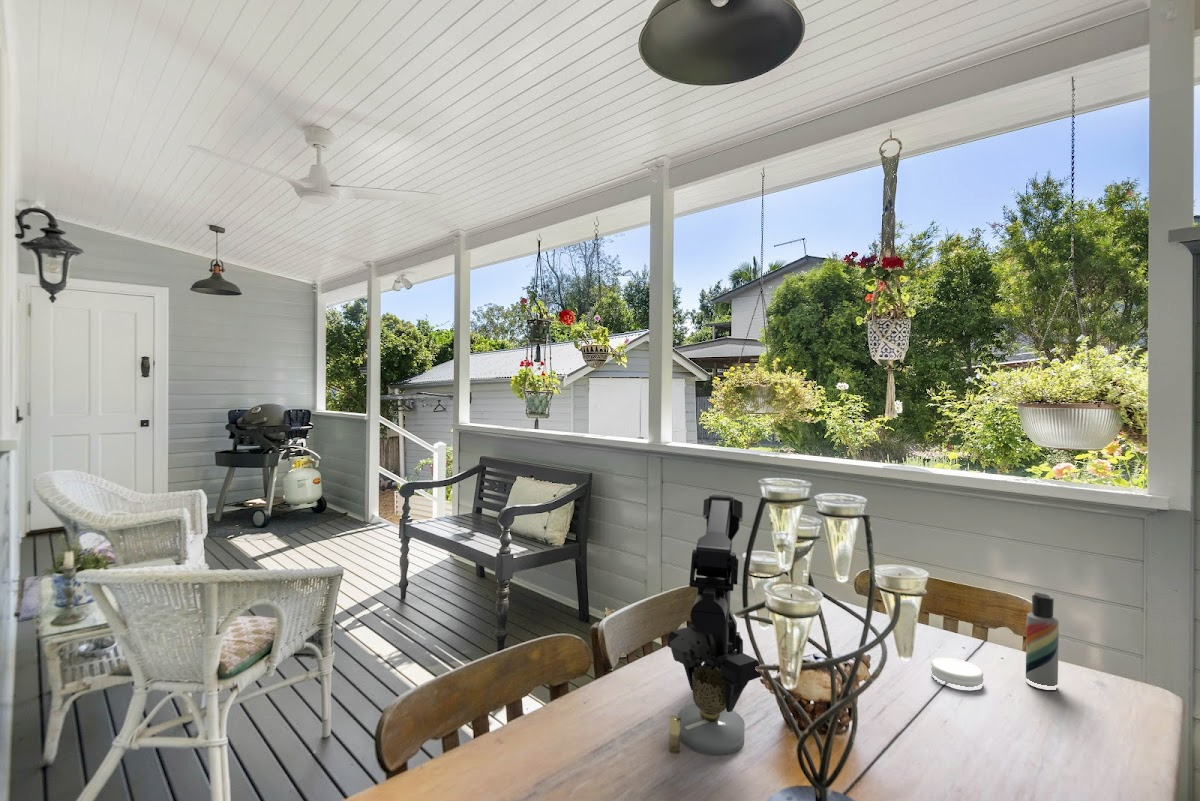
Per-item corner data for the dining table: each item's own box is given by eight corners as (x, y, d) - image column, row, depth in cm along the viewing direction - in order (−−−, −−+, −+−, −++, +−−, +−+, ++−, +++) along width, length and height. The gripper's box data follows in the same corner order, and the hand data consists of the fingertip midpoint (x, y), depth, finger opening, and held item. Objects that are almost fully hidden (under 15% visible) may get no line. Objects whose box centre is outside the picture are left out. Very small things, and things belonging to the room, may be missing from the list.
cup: (723, 733, 105) (726, 688, 104) (683, 720, 108) (686, 676, 108) (734, 715, 111) (738, 672, 111) (696, 703, 115) (699, 661, 114)
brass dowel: (675, 745, 106) (675, 714, 106) (682, 751, 104) (683, 719, 104) (666, 749, 105) (666, 717, 105) (673, 755, 103) (674, 722, 103)
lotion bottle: (1025, 677, 136) (1027, 588, 136) (1057, 684, 133) (1058, 593, 133) (1025, 686, 132) (1026, 594, 132) (1058, 694, 128) (1059, 600, 128)
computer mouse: (711, 713, 117) (711, 696, 117) (758, 742, 107) (758, 724, 107) (663, 730, 111) (663, 713, 111) (709, 763, 101) (709, 744, 101)
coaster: (928, 683, 132) (928, 667, 132) (933, 668, 141) (933, 653, 141) (982, 697, 127) (982, 680, 127) (984, 679, 135) (984, 664, 135)
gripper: (645, 606, 113) (644, 690, 113) (716, 640, 97) (714, 737, 97) (690, 597, 119) (689, 676, 119) (764, 627, 103) (762, 719, 103)
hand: (711, 700), depth 109 cm, fingers open, 9 cm apart
